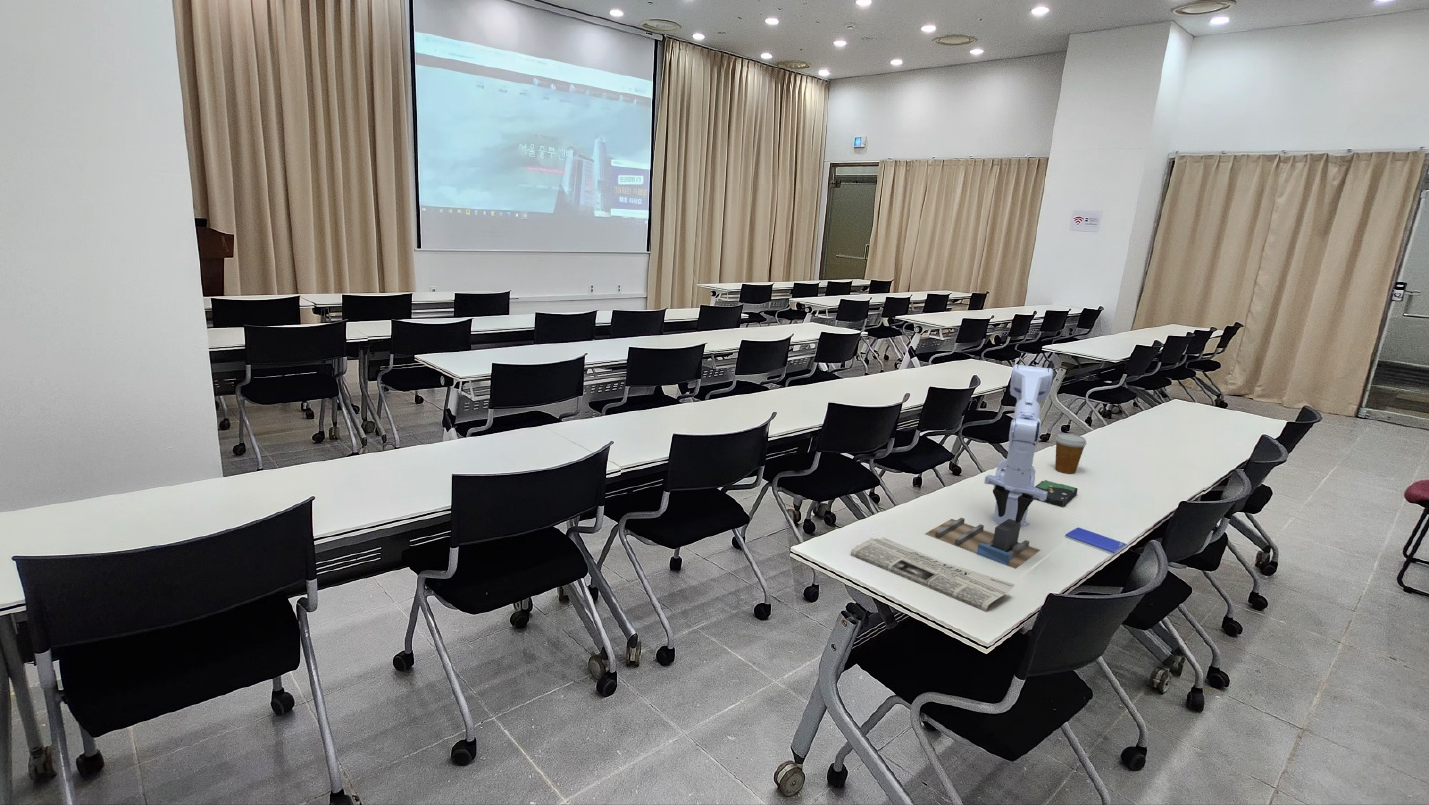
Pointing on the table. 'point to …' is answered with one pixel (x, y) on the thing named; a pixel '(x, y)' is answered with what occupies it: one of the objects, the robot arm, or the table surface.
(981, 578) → the newspaper
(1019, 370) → the robot arm
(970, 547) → the board
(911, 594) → the table surface
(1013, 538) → the dark grey tall block
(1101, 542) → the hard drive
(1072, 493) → the disk drive
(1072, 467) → the disposable coffee cup
